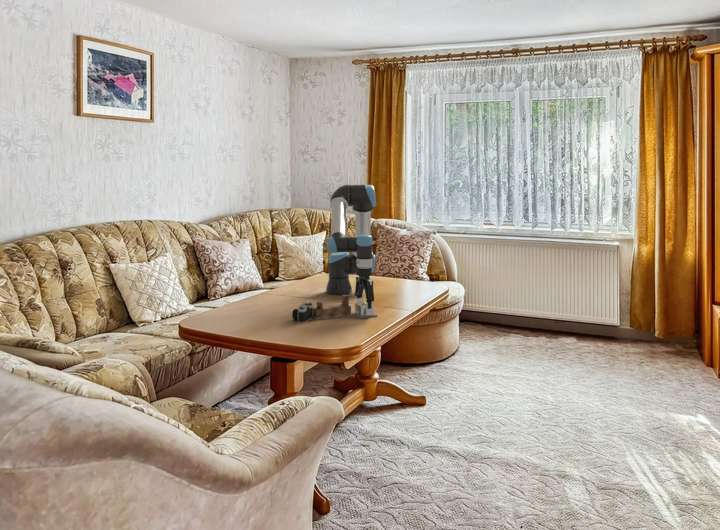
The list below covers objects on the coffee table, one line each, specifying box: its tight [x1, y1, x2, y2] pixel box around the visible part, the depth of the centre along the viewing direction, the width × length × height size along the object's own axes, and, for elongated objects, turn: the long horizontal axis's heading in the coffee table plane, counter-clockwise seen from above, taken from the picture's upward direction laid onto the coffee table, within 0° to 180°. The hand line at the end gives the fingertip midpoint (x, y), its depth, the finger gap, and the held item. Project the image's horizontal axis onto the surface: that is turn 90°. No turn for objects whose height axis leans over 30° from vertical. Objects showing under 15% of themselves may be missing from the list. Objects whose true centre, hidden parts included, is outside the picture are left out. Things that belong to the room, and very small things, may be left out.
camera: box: [291, 302, 314, 324], centre depth 271 cm, size 13×8×9 cm, turn 166°
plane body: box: [312, 294, 353, 320], centre depth 278 cm, size 19×5×10 cm, turn 117°
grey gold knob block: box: [354, 301, 375, 316], centre depth 280 cm, size 6×7×6 cm
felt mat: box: [351, 312, 378, 320], centre depth 280 cm, size 10×9×1 cm
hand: (364, 313), depth 280 cm, fingers open, 8 cm apart
